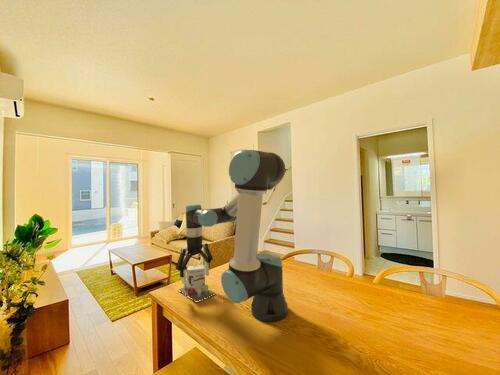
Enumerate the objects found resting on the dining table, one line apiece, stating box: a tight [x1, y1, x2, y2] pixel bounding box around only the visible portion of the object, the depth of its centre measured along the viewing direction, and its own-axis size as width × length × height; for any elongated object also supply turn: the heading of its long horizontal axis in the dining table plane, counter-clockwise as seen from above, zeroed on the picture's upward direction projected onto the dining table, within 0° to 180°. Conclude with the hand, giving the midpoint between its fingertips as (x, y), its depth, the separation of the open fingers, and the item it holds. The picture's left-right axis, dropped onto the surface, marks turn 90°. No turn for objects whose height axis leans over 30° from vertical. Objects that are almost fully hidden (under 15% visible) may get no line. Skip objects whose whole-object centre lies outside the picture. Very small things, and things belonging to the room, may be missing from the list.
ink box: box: [186, 264, 206, 294], centre depth 106 cm, size 9×5×12 cm, turn 106°
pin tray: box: [178, 279, 216, 301], centre depth 106 cm, size 17×10×5 cm, turn 45°
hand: (195, 279), depth 106 cm, fingers open, 12 cm apart
